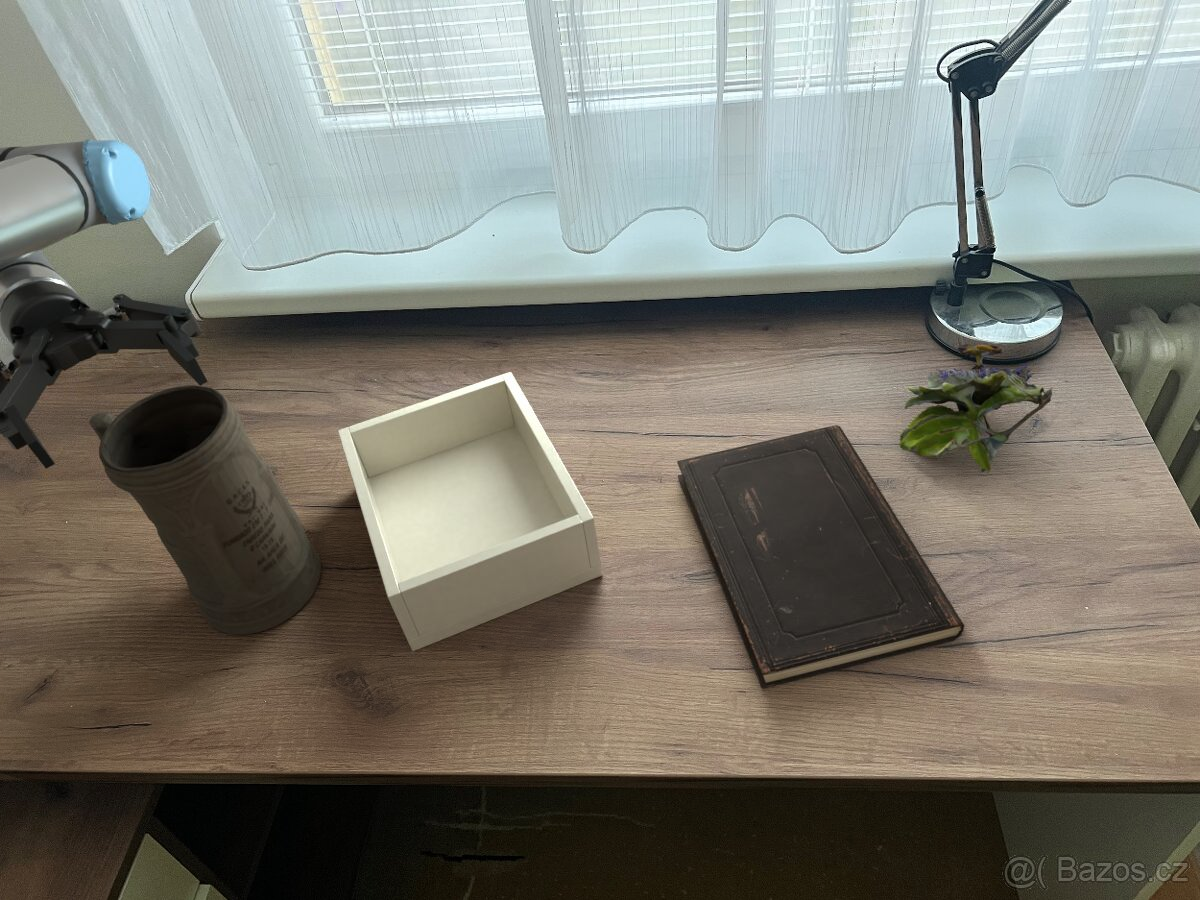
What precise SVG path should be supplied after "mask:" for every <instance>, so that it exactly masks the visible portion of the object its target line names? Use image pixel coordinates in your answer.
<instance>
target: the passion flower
mask: <svg viewBox="0 0 1200 900" xmlns="http://www.w3.org/2000/svg"><path fill="white" fill-rule="evenodd" d="M957 350H958V354H960V355H962V356H967V358H975V361H976V364H975V365H974V366H973V367H972V368H970V369H968V370H967V369H962V368H960V369H956V368H953V369H948V368H946V369H945V370H943V369H942V370H941V369H938V368H937V369H936V371H938V372H930V374H929V375H928V376H927V379H926V381H925V384H926V385H927V386H924V385H920V384H919V385H918V388H916V387H911V386H908V387H907V388H908V390H909V391H910V392H911V393H912V394H913V395H916V396H913V397H911V398H910V399H908V401H906V402H905V403H904V407H903V409H905V410H907V409H908V408H911V407H913V406H915V405H917V406H920V405H923V404H935V405H931V406H928V407H927V408H926V409H925V410H923V411H921V412H920V413H919V414H918V415H916V416H915V417H914V419H912V421H911V422H910V423H909V424H908V426H907V427H905V428H904V429H903V430H902V431H901V432H900V434H899V441H900V442H899V448H900V449H902V450H903V451H907V452H915V453H916V454H917V455H918V456H921V457H926V458H927V457H937V458H939V459H942V458H943V457H944V455H945V454H946V453H949V452H951V451H953V450H955V449H957V448H959V447H962V448H966V447H968V451H969V452H970V455H971V458H972V459H973V460H974V461H975V462H976V464H977V465H978V466H980V468H982V469H981V473H985V471H986V472H988V473H989V472H990V471H991V469H992V466H991V463H992V460H993V459H994V457H995V456H996V454H997V453H998V451H999V450H1000V448H1001V447H1002V446H1003V445H1004V444H1005V443H1006V442H1007V441H1008V440H1009V438H1010V436H1011V435H1012V433H1014V431H1016V430H1017V429H1018V428H1019V427H1021V426H1022V425H1023V424H1024V423H1025V422H1026V421H1027V420H1029V419H1030V418H1031V417H1033V416H1034V415H1035V414H1036V413H1037V412H1040V411H1041V410H1042V409H1044V408H1045V407H1046V405H1048V404H1049V403H1050V402H1051V401H1052V396H1053V391H1052V390H1053V387H1052V386H1051V387H1050V388H1049V389H1048V390H1046V391H1045V389H1044V387H1037V386H1036V385H1035V384H1033V383H1032V384H1029V383H1028V381H1029V379H1030V378H1032V377H1033V375H1032V374H1030V372H1031V368H1030V367H1028V366H1022V367H1019V368H1013V369H1012V368H1009V367H1008V368H1001V369H999V368H998V367H994V366H991V367H989V368H986V367H985V366H984V364H983V358H984V357H985V356H994V355H998V354H1003V353H1004V351H1005V349H1004V348H1003V347H1002V346H1001V347H1000V346H997V345H986V344H981V343H978V344H963V345H959V346H958V347H957ZM1022 402H1030V403H1033V404H1035V405H1037V407H1035V408H1034V409H1033V410H1031V411H1029V412H1028V413H1026V415H1025V416H1024V417H1022V418H1021V419H1020V420H1019V421H1017V422H1016V423H1015V424H1013V426H1012V427H1010V428H1008V429H1005V430H1003V431H995V430H993V429H992V427H991V426H990V424H989V422H988V420H987V417H986V415H988V414H989V413H991V412H992V411H997V410H999V409H1000V408H1001V407H1002V406H1006V405H1011V404H1012V405H1013V404H1021V403H1022ZM946 403H955V405H956V408H957V410H958V411H956V410H954V409H953V408H951V407H948V406H945V405H943V404H946ZM983 420H984V422H983ZM984 424H985V425H984ZM981 432H985V433H986V434H988V435H989V436H985V435H983V434H982V433H981Z"/></svg>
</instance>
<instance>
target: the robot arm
mask: <svg viewBox="0 0 1200 900" xmlns="http://www.w3.org/2000/svg"><path fill="white" fill-rule="evenodd" d="M151 190H152V189H151V183H150V178H149V177H148V173H147V170H146V167H145V164H144V162H143V161H142V159H141V157H140V156H139V154H138V153H137V152H136V151H135V150H134V149H133V148H132V147H130V145H128V144H127V143H124V142H123V141H120V140H116V139H103V140H102V139H101V140H100V139H99V140H97V139H96V140H95V139H91V138H86V139H85V140H82V141H70V142H61V143H50V144H40V145H32V146H31V145H30V146H7V147H0V331H1V332H2V333H3V335H4V336H5V337H6V338H7V341H8V342H9V343H10V344H11V345H12V347H13V350H12V354H10V355H7V356H5V357H3V358H0V435H2V437H3V438H4V439H5V441H6V442H7V443H8V444H9V445H10V447H11V448H12V449H13V450H17V451H18V450H20V449H22V448H24V447H26V446H28V448H29V449H30V450H31V452H32V453H33V454H34V456H35V457H36V458H37V460H39V462H40V463H41V465H42V466H43V467H44V468H45V469H49V468H50V467H52V466H54V465H56V463H55V461H54V460H53V458H52V457H51V455H50V454H49V452H48V450H47V449H46V448H45V446H44V445H43V444H42V442H41V441H40V439H39V438H38V435H36V433H35V432H34V430H33V429H32V427H31V426H30V425H29V423H28V422H27V421H26V420H27V419H28V416H29V415H30V414H31V412H32V411H33V409H34V408H35V406H36V404H37V402H38V401H39V399H40V397H41V396H42V394H43V393H44V391H45V390H46V388H47V387H50V386H54V385H55V382H57V380H58V378H59V376H60V374H61V373H62V371H64V372H65V371H67V370H69V369H71V368H73V367H74V366H76V365H77V364H79V363H81V362H84V361H86V360H89V359H91V358H93V357H95V356H97V355H98V354H100V355H101V354H102V355H103V354H105V355H106V354H112V355H113V354H115V355H116V354H118V353H119V351H120V350H167V352H168V353H169V355H170V357H171V358H172V359H173V360H174V361H175V362H176V363H177V364H178V365H179V366H180V367H181V368H182V369H183V370H184V371H185V373H187V374H188V375H189V377H191V378H192V379H193V381H195V382H196V383H197V385H198V386H203V385H205V384H206V383H208V382H209V381H208V378H207V377H206V375H205V374H204V372H203V369H202V368H201V366H200V364H199V362H198V361H197V359H196V358H197V357H200V351H199V350H198V347H197V346H196V344H195V342H194V340H193V339H192V338H196V337H199V336H201V334H202V333H203V331H202V329H201V328H200V327H201V326H200V325H199V324H198V322H197V320H196V317H195V316H194V314H193V312H192V310H191V309H189V308H184V307H180V306H179V307H178V306H172V305H167V304H160V303H154V302H147V301H142V300H136V299H132V297H129V296H128V295H126V294H125V293H118V294H116V295H114V296H113V297H112V302H113V306H111V307H109V308H107V309H106V310H103V311H101V310H98V309H92V308H91V307H90V306H89V304H88V303H87V302H86V301H85V300H84V299H83V298H82V297H81V296H80V295H79V294H78V293H77V292H76V290H75V289H74V288H73V287H72V286H71V285H70V284H69V283H68V282H67V281H66V279H64V277H62V276H61V275H60V274H59V273H58V272H57V270H56V269H55V267H54V266H53V265H52V264H51V263H50V261H48V259H47V258H46V256H45V255H44V253H43V251H42V250H44V249H46V248H48V247H50V246H52V245H54V244H57V243H58V242H60V241H62V240H65V239H67V238H70V237H71V236H73V235H75V234H77V233H80V232H82V231H84V230H87V229H90V228H91V227H94V226H99V225H109V224H110V225H111V226H114V225H115V226H116V225H118V224H120V223H121V224H122V223H127V222H133V221H137V220H139V219H141V218H142V217H144V215H145V214H146V212H147V210H148V209H149V207H150V202H151Z"/></svg>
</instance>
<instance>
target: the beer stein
mask: <svg viewBox="0 0 1200 900" xmlns="http://www.w3.org/2000/svg"><path fill="white" fill-rule="evenodd" d="M89 424H90V427H91V428H92V429H93V431H94V432H95V434H96V435H97V436H98V439H99V440H100V443H99V446H98V456H99V460H100V461H101V463H102V466H103V467H104V472H105V474H106V476H107V478H108V479H109V481H110V482H111V483H112V484H113V485H114V486H115V487H117V488H118V489H120V490H122V491H124V492H127V493H129V494H130V495H131V496H132V498H133V499H134V500H135V501H136V502H137V503H138V505H139V507H141V509H142V511H143V513H144V514H145V515H146V517H147V518H148V520H149V521H150V522H151V523H152V524H153V525H154V527H155V529H156V532H157V535H158V537H159V539H160V541H161V543H162V545H163V546H164V547H165V549H166V550H167V552H168V553H169V555H170V557H171V558H172V560H173V561H174V563H175V564H176V566H177V568H178V569H179V571H180V572H181V575H183V577H184V579H185V582H186V586H187V588H188V592H189V595H190V596H191V597H192V599H193V600H194V602H196V603H197V606H198V608H199V611H200V613H201V616H202V617H203V618H204V620H205V621H206V622H207V623H208V624H209V625H210V626H211V627H212V628H214V629H215V630H217V631H220V632H223V633H225V634H230V635H250V634H256V633H260V632H265V631H266V630H270V629H272V628H274V627H276V626H278V625H280V624H282V623H284V622H286V621H287V620H289V619H291V618H292V617H293V616H294V615H296V614H297V613H298V612H299V611H300V610H302V608H304V606H305V605H306V604H307V603H308V602H309V601H310V599H311V598H312V596H313V594H314V593H315V591H316V589H317V586H318V584H319V581H320V578H321V573H322V563H321V558H320V555H319V553H318V551H317V549H316V547H315V546H314V545H313V544H312V543H311V542H310V541H309V538H308V535H307V533H306V531H305V530H304V529H305V528H304V527H303V524H302V522H301V520H300V517H299V515H298V514H297V512H296V510H295V509H294V507H292V505H291V503H290V502H289V500H288V499H287V497H286V495H285V493H284V492H283V490H282V488H281V486H280V483H279V481H278V479H277V478H276V476H275V474H274V473H273V471H272V470H271V468H270V466H269V465H268V464H267V462H266V460H265V459H264V458H263V457H262V456H261V455H260V454H259V452H258V451H257V449H256V447H255V446H254V444H253V442H252V440H251V439H250V436H249V435H248V433H247V431H246V430H245V428H244V425H243V422H242V419H241V415H240V413H239V412H238V410H237V409H236V407H235V406H234V405H233V403H230V401H229V400H228V398H227V397H226V396H225V395H224V394H223V393H221V392H220V391H219V390H217V389H215V388H213V387H211V386H205V385H204V386H203V385H201V386H200V385H199V384H187V385H179V386H175V387H170V388H166V389H163V390H159V391H158V392H154V393H152V394H150V395H148V396H145V397H144V398H142V399H140V400H138V401H136V402H135V403H133V404H132V405H130V406H129V407H127V408H125V409H124V410H123V411H121V412H120V413H119V415H117V416H115V415H114V414H113V413H110V412H99V413H96V414H93V415H91V416H90V418H89Z"/></svg>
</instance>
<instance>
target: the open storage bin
mask: <svg viewBox="0 0 1200 900" xmlns="http://www.w3.org/2000/svg"><path fill="white" fill-rule="evenodd" d="M337 433H338V436H339V439H340V443H341V446H342V450H343V453H344V455H345V459H346V463H347V466H348V470H349V473H350V476H351V480H352V483H353V486H354V489H355V493H356V497H357V499H358V504H359V506H360V509H361V513H362V517H363V520H364V523H365V526H366V530H367V533H368V536H369V539H370V544H371V546H372V550H373V554H374V556H375V560H376V564H377V566H378V570H379V573H380V578H381V580H382V583H383V587H384V590H385V593H386V597H387V599H388V601H389V604H390V606H391V608H392V611H393V612H394V615H395V616H396V619H397V621H398V623H399V625H400V628H401V630H402V632H403V634H404V637H405V639H406V641H407V643H408V645H409V648H410V650H411V651H412V652H415V651H418V650H421V649H423V648H425V647H428V646H430V645H433V644H435V643H438V642H440V641H443V640H446V639H448V638H450V637H452V636H455V635H457V634H460V633H462V632H465V631H468V630H470V629H472V628H475V627H477V626H480V625H482V624H485V623H488V622H490V621H492V620H495V619H498V618H499V617H503V616H504V615H507V614H510V613H513V612H514V611H517V610H519V609H522V608H524V607H527V606H530V605H532V604H535V603H537V602H540V601H543V600H544V599H548V598H550V597H552V596H555V595H556V594H559V593H562V592H564V591H568V590H569V589H572V588H574V587H577V586H579V585H582V584H584V583H587V582H589V581H592V580H595V579H597V578H599V577H601V576H603V575H604V573H603V572H604V571H603V566H602V559H601V554H600V548H599V542H598V535H597V528H596V522H595V517H594V515H593V514H592V512H591V510H590V509H589V506H587V503H586V501H585V500H584V498H583V496H582V494H581V492H580V491H579V489H578V487H577V486H576V483H575V482H574V480H573V478H572V477H571V475H570V474H569V471H568V470H567V468H566V466H565V465H564V462H563V461H562V459H561V457H560V456H559V453H558V452H557V450H556V448H555V447H554V445H553V443H552V441H551V440H550V438H549V436H548V435H547V433H546V431H545V429H544V428H543V426H542V424H541V422H540V420H539V418H538V416H537V415H536V414H535V411H534V409H533V408H532V405H530V403H529V401H528V399H527V398H526V396H525V394H524V392H523V390H522V389H521V387H520V385H519V383H518V382H517V380H516V378H515V376H514V375H513V373H512V372H511V371H509V372H505V373H503V374H500V375H496V376H494V377H490V378H487V379H486V380H482V381H479V382H476V383H473V384H470V385H467V386H465V387H462V388H459V389H455V390H452V391H450V392H447V393H444V394H440V395H439V396H435V397H432V398H429V399H426V400H423V401H419V402H417V403H414V404H411V405H409V406H405V407H402V408H400V409H397V410H393V411H391V412H388V413H384V414H382V415H379V416H376V417H373V418H370V419H367V420H365V421H361V422H359V423H355V424H352V425H349V426H347V427H344V428H341V429H337Z"/></svg>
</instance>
